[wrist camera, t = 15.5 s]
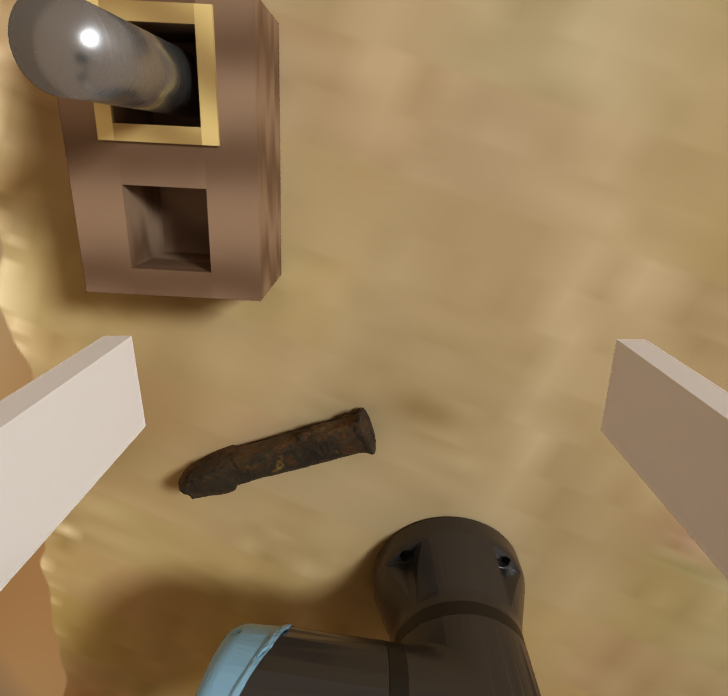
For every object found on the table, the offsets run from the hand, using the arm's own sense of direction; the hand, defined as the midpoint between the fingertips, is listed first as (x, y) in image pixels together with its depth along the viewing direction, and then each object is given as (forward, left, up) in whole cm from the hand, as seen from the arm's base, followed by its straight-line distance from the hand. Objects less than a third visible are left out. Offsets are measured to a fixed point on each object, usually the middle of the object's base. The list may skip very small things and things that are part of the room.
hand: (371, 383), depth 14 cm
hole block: (+5, +14, -29) cm, 33 cm away
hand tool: (-21, +8, -30) cm, 37 cm away
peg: (+9, +14, -27) cm, 32 cm away
